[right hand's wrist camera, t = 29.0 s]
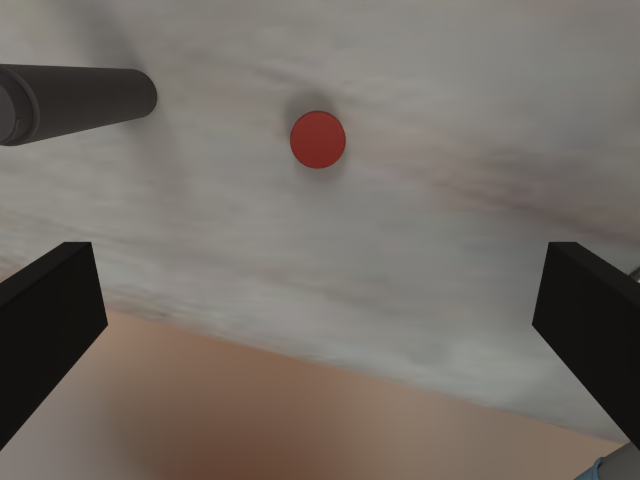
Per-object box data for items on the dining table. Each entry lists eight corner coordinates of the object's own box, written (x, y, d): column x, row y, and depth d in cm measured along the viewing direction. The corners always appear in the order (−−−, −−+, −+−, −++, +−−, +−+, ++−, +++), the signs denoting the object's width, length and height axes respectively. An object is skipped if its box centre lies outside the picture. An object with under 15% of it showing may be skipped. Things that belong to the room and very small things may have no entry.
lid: (348, 115, 39) (349, 116, 38) (339, 168, 41) (340, 172, 40) (294, 107, 39) (293, 108, 38) (288, 161, 41) (287, 164, 39)
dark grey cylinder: (105, 105, 39) (-72, 129, 21) (117, 60, 38) (-61, 47, 20) (149, 125, 40) (13, 164, 22) (163, 81, 38) (29, 86, 21)
